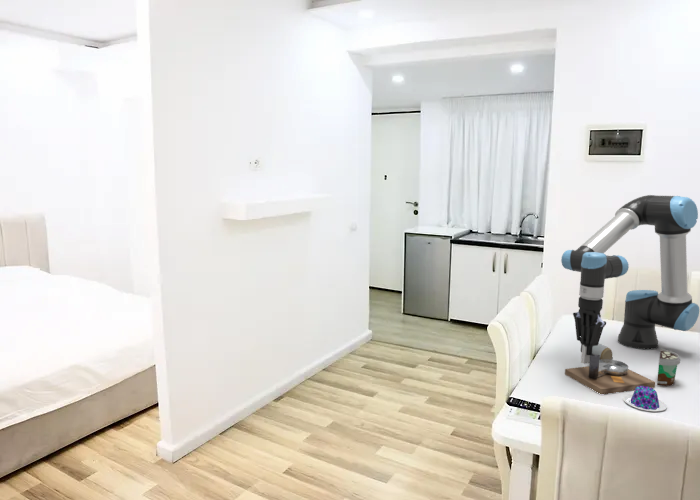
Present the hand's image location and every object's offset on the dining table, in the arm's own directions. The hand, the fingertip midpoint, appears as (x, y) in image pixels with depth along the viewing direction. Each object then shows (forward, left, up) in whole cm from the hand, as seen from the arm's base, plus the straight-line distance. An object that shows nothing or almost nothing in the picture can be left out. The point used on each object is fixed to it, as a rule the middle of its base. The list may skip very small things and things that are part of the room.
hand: (585, 362), depth 180 cm
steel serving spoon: (-8, +1, -4) cm, 9 cm away
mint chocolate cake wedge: (-27, +9, -7) cm, 29 cm away
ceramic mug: (-18, -14, -7) cm, 24 cm away
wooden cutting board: (-8, +3, -7) cm, 11 cm away
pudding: (-6, +21, -7) cm, 23 cm away
